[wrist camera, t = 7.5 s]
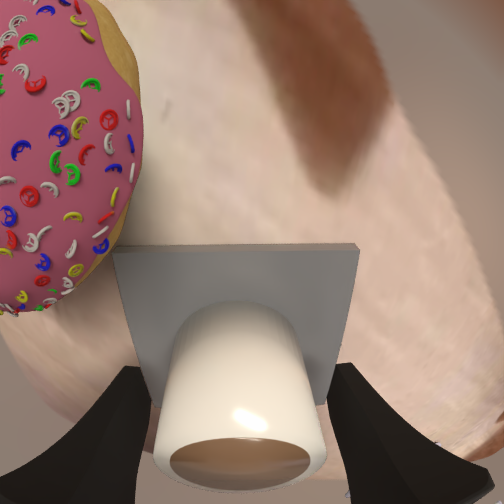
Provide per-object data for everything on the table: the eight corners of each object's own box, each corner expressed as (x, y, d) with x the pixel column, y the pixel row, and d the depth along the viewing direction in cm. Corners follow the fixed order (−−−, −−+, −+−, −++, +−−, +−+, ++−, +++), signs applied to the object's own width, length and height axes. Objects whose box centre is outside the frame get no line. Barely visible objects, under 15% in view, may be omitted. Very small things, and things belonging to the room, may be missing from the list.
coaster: (322, 396, 15) (324, 404, 14) (156, 398, 14) (154, 407, 14) (354, 243, 11) (360, 250, 11) (117, 246, 11) (111, 253, 10)
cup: (296, 384, 13) (317, 486, 8) (188, 391, 13) (177, 493, 8) (299, 294, 11) (339, 416, 6) (162, 304, 11) (126, 426, 6)
